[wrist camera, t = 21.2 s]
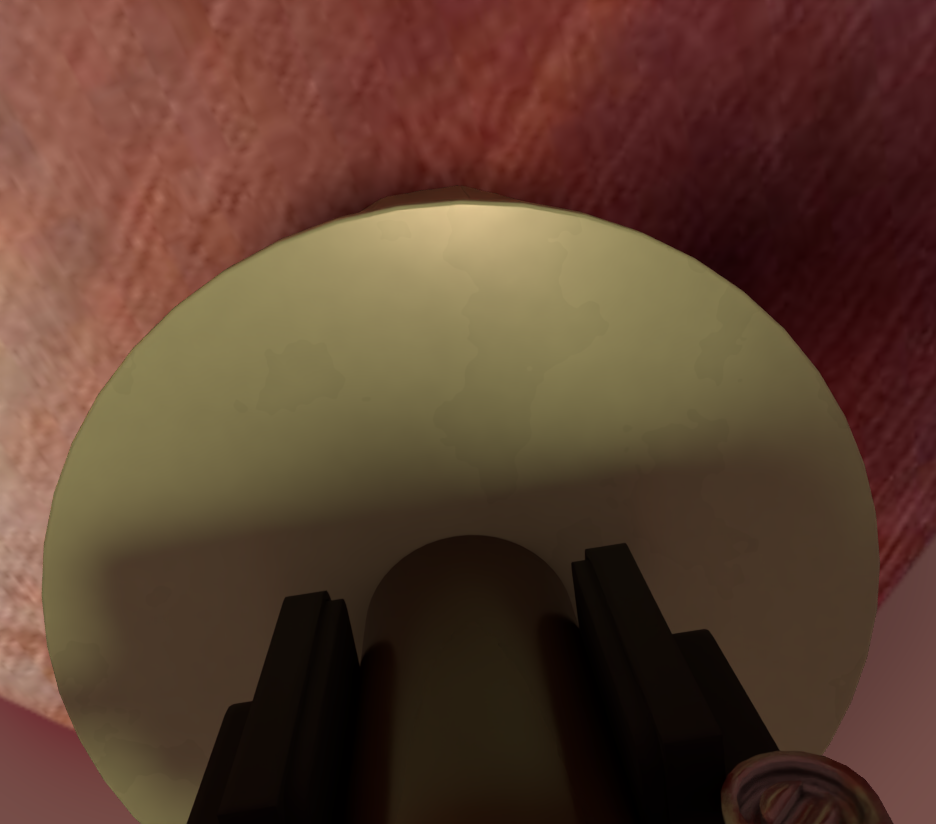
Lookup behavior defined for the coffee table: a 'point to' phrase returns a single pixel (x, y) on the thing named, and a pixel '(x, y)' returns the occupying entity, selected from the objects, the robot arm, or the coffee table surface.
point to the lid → (453, 507)
